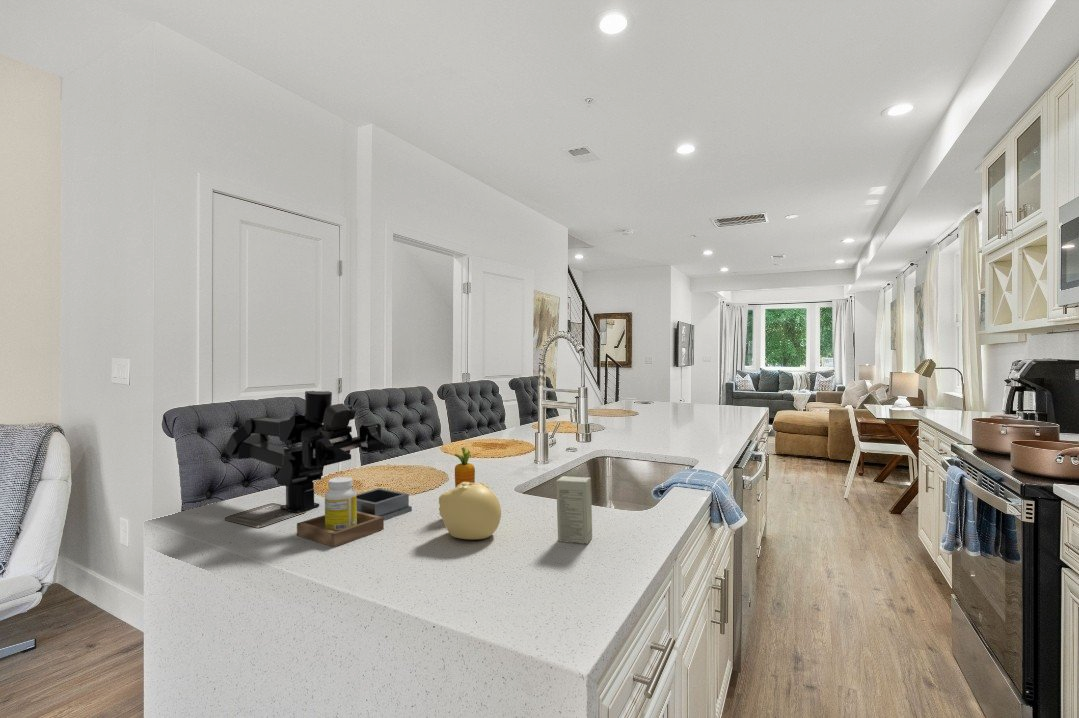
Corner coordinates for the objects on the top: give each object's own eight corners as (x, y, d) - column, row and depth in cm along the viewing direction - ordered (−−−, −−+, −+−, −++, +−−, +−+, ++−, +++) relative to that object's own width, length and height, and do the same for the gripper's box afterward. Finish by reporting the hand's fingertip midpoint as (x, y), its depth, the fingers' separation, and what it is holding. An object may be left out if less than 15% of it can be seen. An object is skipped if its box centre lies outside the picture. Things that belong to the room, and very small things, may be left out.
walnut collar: (297, 535, 109) (296, 523, 109) (346, 519, 119) (346, 508, 119) (334, 547, 102) (334, 534, 102) (383, 529, 113) (383, 517, 112)
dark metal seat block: (341, 515, 122) (341, 497, 122) (379, 503, 131) (379, 487, 131) (374, 523, 116) (374, 505, 116) (411, 510, 126) (411, 493, 125)
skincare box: (592, 537, 107) (592, 477, 107) (587, 545, 103) (587, 482, 103) (562, 534, 110) (562, 474, 109) (555, 541, 105) (555, 479, 105)
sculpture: (475, 522, 117) (475, 473, 117) (512, 535, 109) (511, 483, 108) (431, 534, 109) (430, 482, 109) (466, 550, 101) (466, 493, 100)
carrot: (471, 516, 121) (471, 450, 121) (450, 515, 122) (450, 449, 122) (478, 510, 126) (478, 446, 126) (458, 508, 127) (458, 445, 127)
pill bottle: (345, 525, 115) (345, 474, 115) (363, 531, 111) (362, 478, 111) (318, 533, 110) (318, 480, 110) (336, 539, 106) (336, 484, 106)
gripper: (284, 410, 113) (329, 423, 105) (357, 397, 129) (402, 407, 120) (286, 461, 115) (330, 477, 106) (358, 441, 130) (402, 454, 122)
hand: (368, 451), depth 114 cm, fingers open, 9 cm apart
